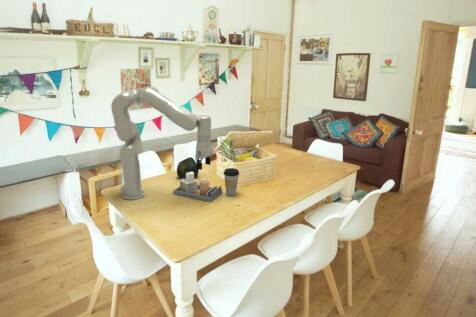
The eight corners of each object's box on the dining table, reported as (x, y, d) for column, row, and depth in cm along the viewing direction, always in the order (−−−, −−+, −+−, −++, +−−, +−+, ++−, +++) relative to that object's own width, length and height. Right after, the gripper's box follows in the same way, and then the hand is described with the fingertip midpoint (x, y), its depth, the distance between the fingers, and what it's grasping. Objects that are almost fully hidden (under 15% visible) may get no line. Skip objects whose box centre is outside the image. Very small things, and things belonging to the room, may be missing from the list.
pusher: (206, 200, 184) (206, 192, 182) (215, 193, 194) (215, 185, 192) (208, 200, 184) (208, 192, 182) (216, 193, 193) (217, 185, 192)
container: (180, 191, 195) (179, 171, 191) (190, 188, 200) (190, 168, 196) (187, 195, 189) (186, 175, 186) (197, 192, 194) (197, 172, 190)
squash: (169, 169, 216) (179, 156, 208) (185, 164, 228) (195, 152, 220) (180, 186, 213) (191, 173, 204) (196, 180, 225) (207, 168, 216)
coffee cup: (229, 198, 187) (229, 174, 183) (220, 192, 194) (220, 169, 190) (242, 194, 192) (242, 171, 188) (233, 189, 200) (233, 166, 195)
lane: (173, 194, 191) (172, 186, 189) (186, 186, 203) (185, 178, 202) (211, 202, 181) (211, 194, 180) (222, 193, 193) (222, 185, 192)
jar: (198, 195, 189) (197, 182, 187) (202, 192, 194) (202, 179, 191) (206, 197, 187) (206, 183, 184) (210, 194, 192) (210, 180, 189)
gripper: (205, 134, 189) (205, 161, 194) (190, 140, 174) (190, 169, 179) (217, 135, 186) (216, 163, 191) (202, 142, 171) (201, 172, 176)
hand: (203, 166), depth 185 cm, fingers open, 9 cm apart
